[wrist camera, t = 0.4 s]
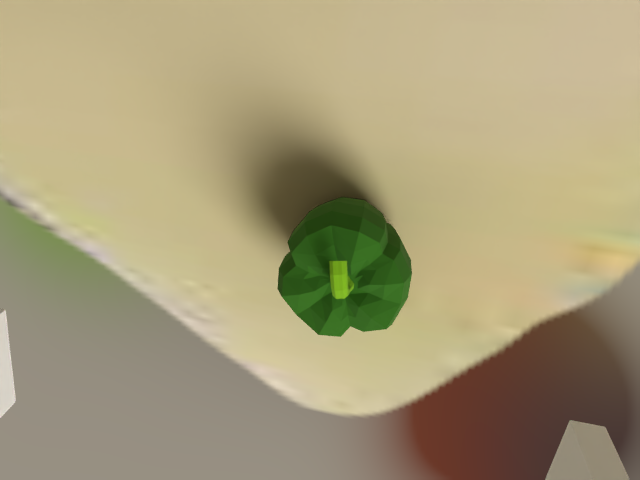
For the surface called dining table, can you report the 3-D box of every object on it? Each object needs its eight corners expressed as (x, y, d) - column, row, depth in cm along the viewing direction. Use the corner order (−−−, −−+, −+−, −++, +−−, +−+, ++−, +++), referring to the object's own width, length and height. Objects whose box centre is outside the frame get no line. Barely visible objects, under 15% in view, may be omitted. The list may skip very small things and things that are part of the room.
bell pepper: (386, 303, 43) (381, 386, 34) (283, 266, 43) (251, 339, 34) (429, 205, 39) (438, 268, 30) (318, 164, 39) (293, 216, 30)
